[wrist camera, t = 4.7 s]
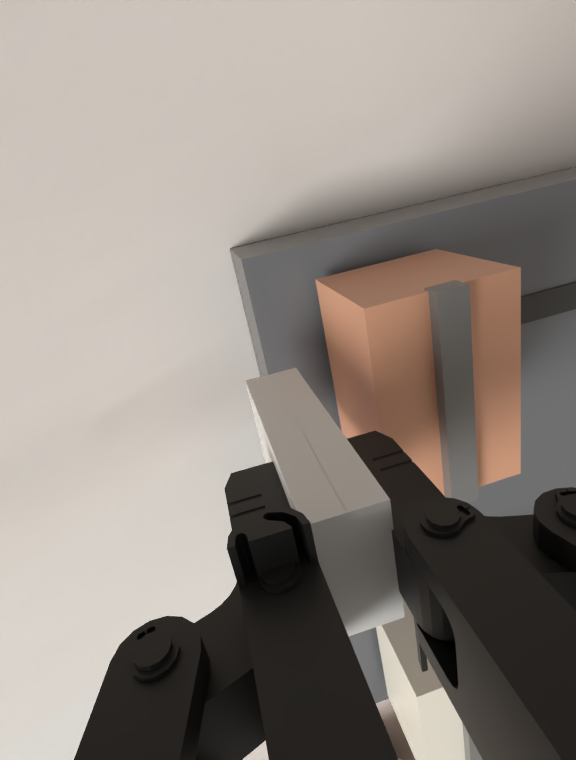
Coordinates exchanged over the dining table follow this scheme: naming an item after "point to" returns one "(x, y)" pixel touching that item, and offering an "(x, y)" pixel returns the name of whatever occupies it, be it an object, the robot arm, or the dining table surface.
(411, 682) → the block
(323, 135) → the dining table surface
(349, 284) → the fader terracotta
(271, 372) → the console
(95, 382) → the dining table surface
